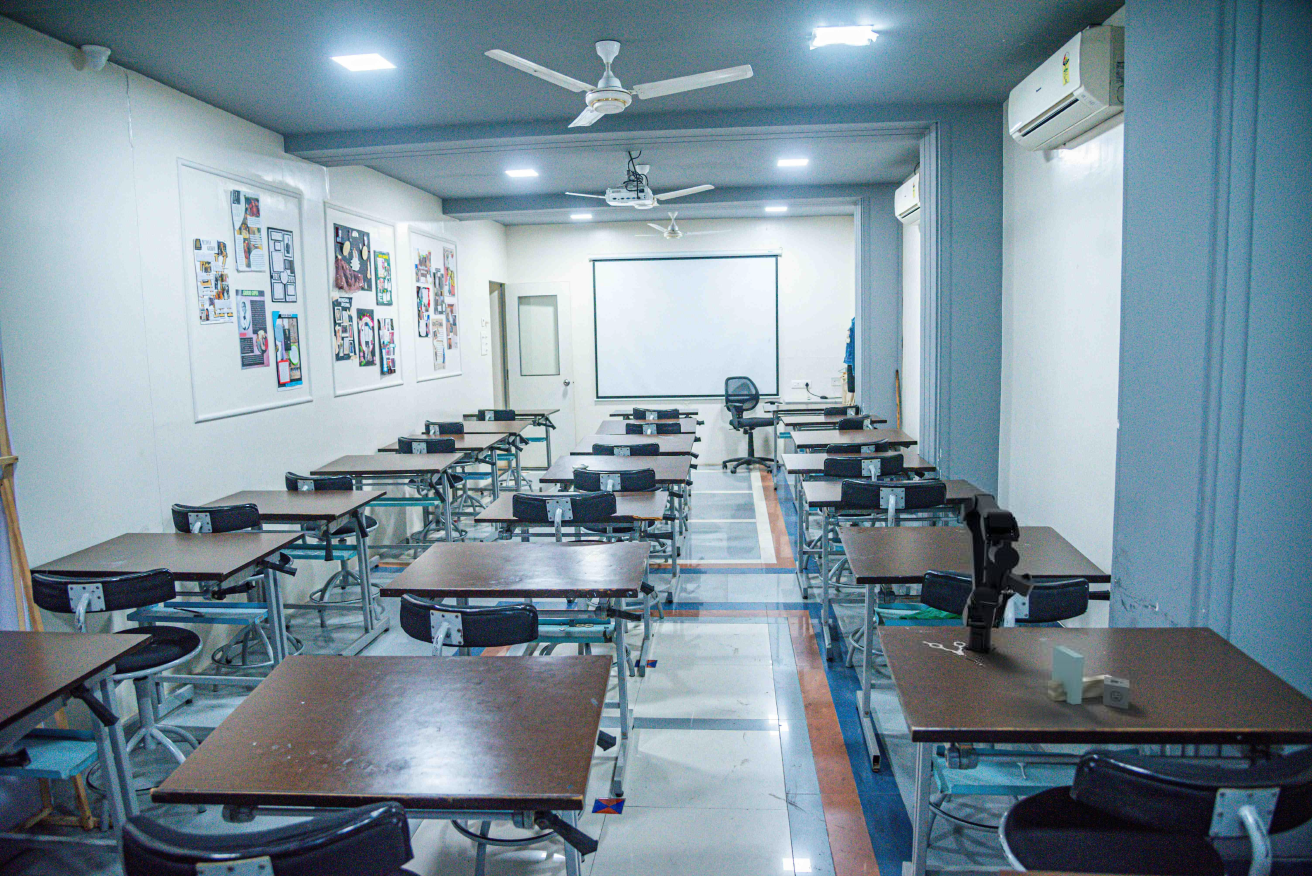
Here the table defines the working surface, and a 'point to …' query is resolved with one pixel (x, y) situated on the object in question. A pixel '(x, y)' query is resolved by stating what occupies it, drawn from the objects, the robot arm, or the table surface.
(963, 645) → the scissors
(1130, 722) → the table surface
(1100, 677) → the cream stepped bar
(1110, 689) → the grey cube
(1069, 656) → the notched plate
